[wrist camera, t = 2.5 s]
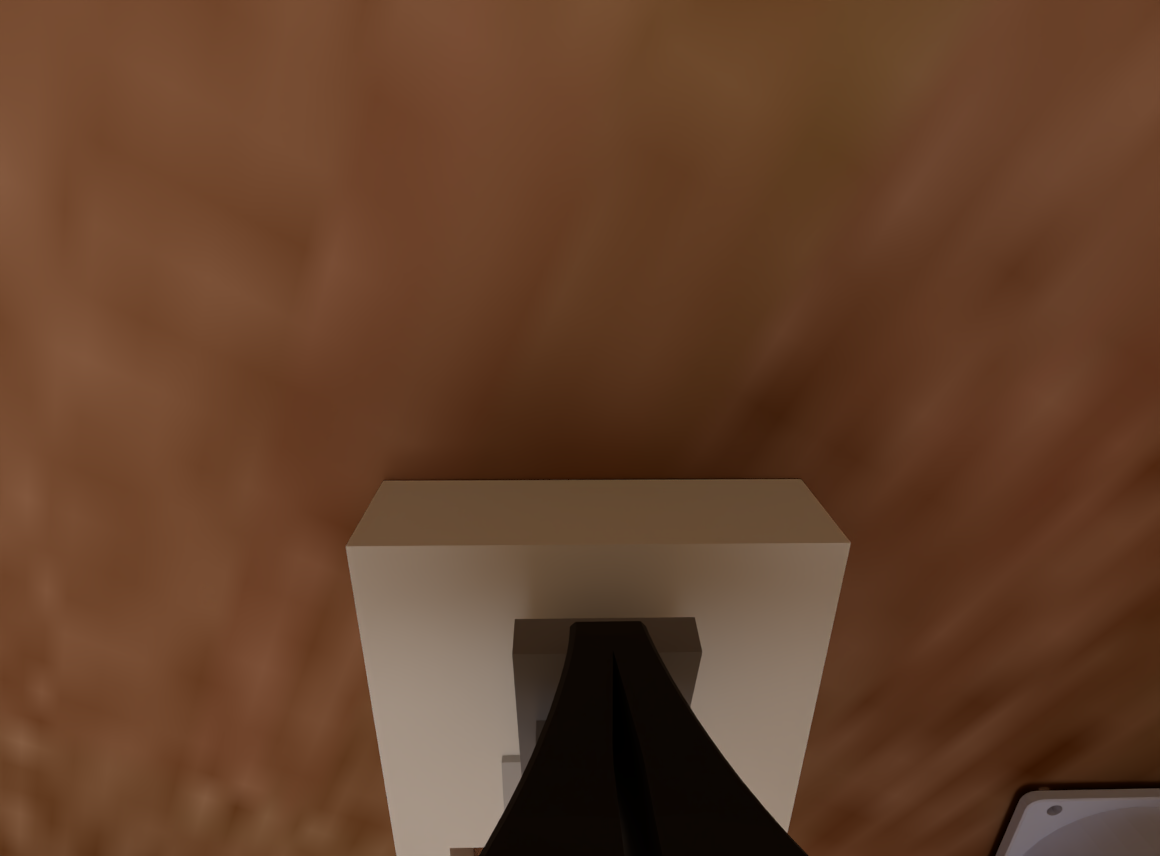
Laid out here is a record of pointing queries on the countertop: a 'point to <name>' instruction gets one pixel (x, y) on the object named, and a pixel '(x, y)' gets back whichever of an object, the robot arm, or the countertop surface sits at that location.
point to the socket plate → (582, 590)
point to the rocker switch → (544, 658)
